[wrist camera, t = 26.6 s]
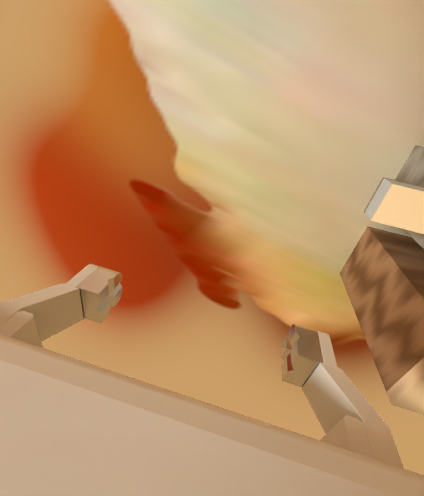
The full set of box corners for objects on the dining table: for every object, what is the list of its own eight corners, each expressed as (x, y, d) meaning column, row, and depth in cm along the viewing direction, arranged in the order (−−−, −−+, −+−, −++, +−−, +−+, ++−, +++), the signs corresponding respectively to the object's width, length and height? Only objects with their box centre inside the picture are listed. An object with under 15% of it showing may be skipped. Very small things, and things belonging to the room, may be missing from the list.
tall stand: (367, 226, 44) (459, 346, 22) (442, 245, 43) (616, 390, 21) (339, 273, 50) (391, 404, 28) (405, 291, 49) (511, 441, 27)
